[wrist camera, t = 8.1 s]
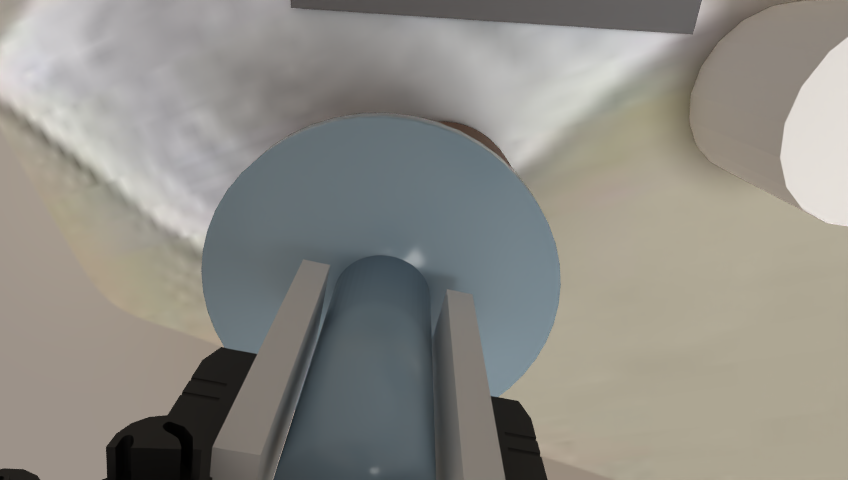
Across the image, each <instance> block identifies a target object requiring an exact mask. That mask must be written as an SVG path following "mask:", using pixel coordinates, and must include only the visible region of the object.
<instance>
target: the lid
mask: <svg viewBox="0 0 848 480" xmlns="http://www.w3.org/2000/svg"><path fill="white" fill-rule="evenodd" d="M303 259H304V260H309V261H314V262H318V263H323V264H328V265H330V269H329V275H328V280H327V286H326V291H325V297H324V303H323V308H322V314H321V319H320V325H319V330H318V336H317V341H316V345H315V348H314V351H313V354H312V358H311V361H310V364H309V367H308V370H307V373H306V376H305V379H304V382H303V385H302V389H301V392H300V395H299V398H298V401H297V404H296V407H295V413H294V416H293V419H292V423H291V426H290V429H289V432H288V435H287V438H286V441H285V444H284V448H283V451H282V454H281V457H280V460H279V463H278V466H277V470H276V473H275V476H274V479H273V480H436V459H435V427H434V394H433V361H432V338H433V334H434V331H435V328H436V324H437V321H438V318H439V314H440V311H441V307H442V304H443V301H444V297H445V294H446V291H447V289H449V290H454V291H459V292H463V293H468V294H472V295H473V300H474V306H475V312H476V317H477V323H478V328H479V334H480V340H481V345H482V351H483V356H484V362H485V368H486V373H487V379H488V385H489V390H490V396H494V397H498V396H500V395H501V394H502V393H504V392H505V391H506V390H508V389H509V388H510V387H511V386H512V385H513V384H514V383H515V382H516V381H517V380H518V379H519V378H520V377H521V376H522V375H523V374H524V373H525V372H526V371H527V369H528V368H529V367H530V366H531V364H532V363H533V362H534V361H535V359H536V358H537V356H538V354H539V353H540V351H541V349H542V348H543V346H544V344H545V343H546V340H547V338H548V336H549V333H550V331H551V329H552V326H553V324H554V320H555V316H556V312H557V308H558V304H559V295H560V285H561V284H560V264H559V259H558V254H557V249H556V243H555V241H554V238H553V235H552V232H551V230H550V227H549V224H548V222H547V220H546V218H545V216H544V214H543V213H542V211H541V209H540V207H539V205H538V203H537V202H536V200H535V198H534V197H533V195H532V194H531V192H530V190H529V189H528V188H527V186H526V185H525V184H524V182H523V181H522V180H521V178H520V177H519V176H518V174H517V173H516V172H515V171H514V170H513V169H512V168H511V167H510V166H509V165H508V164H507V163H506V162H505V161H504V160H503V159H502V158H501V157H500V156H498V155H497V154H496V153H494V152H493V151H492V150H490V149H489V148H488V147H486V146H485V145H484V144H482V143H481V142H479V141H477V140H476V139H474V138H472V137H470V136H468V135H467V134H465V133H463V132H461V131H459V130H457V129H454V128H452V127H449V126H447V125H444V124H442V123H439V122H436V121H432V120H428V119H424V118H420V117H416V116H412V115H404V114H395V113H359V114H353V115H346V116H340V117H335V118H332V119H328V120H325V121H322V122H318V123H315V124H312V125H310V126H308V127H306V128H303V129H301V130H299V131H297V132H295V133H293V134H290V135H289V136H287V137H286V138H284V139H283V140H281V141H280V142H278V143H277V144H275V145H273V146H272V147H270V148H269V149H268V150H267V151H266V152H265V153H264V154H263V155H261V156H260V157H259V158H258V159H257V160H256V161H255V162H253V163H252V164H251V165H250V166H249V167H248V168H247V169H246V170H244V171H243V172H242V173H241V175H240V176H239V177H238V178H237V179H236V181H235V182H234V183H233V184H232V185H231V187H230V188H229V189H228V190H227V192H226V193H225V195H224V197H223V198H222V200H221V202H220V203H219V205H218V207H217V208H216V210H215V213H214V215H213V218H212V220H211V223H210V225H209V228H208V231H207V235H206V239H205V244H204V248H203V257H202V283H203V293H204V297H205V301H206V306H207V310H208V313H209V316H210V318H211V321H212V323H213V326H214V328H215V331H216V333H217V335H218V336H219V338H220V340H221V342H222V343H223V345H224V347H225V348H228V349H234V350H239V351H244V352H250V353H255V354H258V352H259V350H260V348H261V346H262V343H263V341H264V339H265V337H266V335H267V333H268V331H269V329H270V327H271V325H272V323H273V321H274V319H275V317H276V315H277V313H278V310H279V308H280V306H281V304H282V302H283V300H284V298H285V296H286V294H287V292H288V290H289V288H290V286H291V284H292V282H293V280H294V277H295V275H296V273H297V271H298V269H299V267H300V265H301V263H302V261H303Z"/></svg>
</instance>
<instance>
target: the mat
mask: <svg viewBox="0 0 848 480" xmlns="http://www.w3.org/2000/svg"><path fill="white" fill-rule="evenodd" d="M701 1H702V0H291V8H302V9H317V10H332V11H348V12H363V13H378V14H393V15H408V16H424V17H439V18H454V19H469V20H484V21H500V22H515V23H530V24H545V25H560V26H576V27H591V28H606V29H621V30H636V31H651V32H667V33H682V34H693V31H694V28H695V24H696V20H697V16H698V13H699V9H700V5H701Z"/></svg>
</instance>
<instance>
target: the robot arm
mask: <svg viewBox="0 0 848 480" xmlns="http://www.w3.org/2000/svg"><path fill="white" fill-rule="evenodd" d="M329 269H330V265H328V264H323V263H318V262H314V261H309V260H304V259H303V261H302V263H301V265H300V267H299V269H298V271H297V273H296V275H295V277H294V280H293V282H292V284H291V286H290V288H289V290H288V292H287V294H286V296H285V298H284V300H283V302H282V304H281V306H280V308H279V310H278V313H277V315H276V317H275V319H274V321H273V323H272V325H271V327H270V329H269V331H268V333H267V335H266V337H265V339H264V341H263V343H262V346H261V348H260V350H259V352H258V354H255V353H250V352H244V351H239V350H234V349H228V348H223V347H221V348H219V349H218V350H216V351H215V352H214V353H212V354H211V355H209V356H208V357H206V358H205V359H204V360H202V362H201V363H200V365H199V367H198V368H197V370H196V371H195V373H194V374H193V376H192V378H191V381H189V382H188V384H187V385H186V387H185V389H184V390H183V392H182V395H180V396H179V398H178V400H177V401H176V403H175V404H174V406H173V407H172V409H171V411H170V412H169V414H168V415H167V416H155V417H148V418H145V419H142V420H140V421H137V422H134V423H131V424H130V425H129V426H127V427H125V428H124V429H123V430H121V431H120V432H118V433H117V434H116V435H115V436H114V438H113V439H112V440H111V441H110V443H109V444H108V445H107V447H106V454H107V455H106V456H107V478H106V479H103V480H272V479H273V475H274V472H275V469H276V466H277V463H278V460H279V457H280V454H281V450H282V447H283V444H284V441H285V438H286V435H287V431H288V429H289V426H290V423H291V420H292V416H293V413H294V410H295V407H296V404H297V401H298V398H299V395H300V392H301V389H302V385H303V382H304V379H305V376H306V373H307V370H308V367H309V364H310V361H311V358H312V354H313V351H314V348H315V345H316V341H317V336H318V330H319V325H320V319H321V314H322V308H323V303H324V297H325V291H326V286H327V280H328V275H329ZM432 361H433V394H434V427H435V459H436V480H547V476H546V473H545V469H544V465H543V462H542V458H541V457H540V450H539V447H538V443H537V441H536V435H535V432H534V428H533V424H532V420H531V418H530V417H529V415H528V414H527V412H526V411H525V410H524V408H523V407H522V405H521V404H520V403H519V401H515V400H510V399H504V398H499V397H494V396H490V390H489V385H488V379H487V373H486V368H485V362H484V356H483V351H482V345H481V340H480V334H479V328H478V323H477V317H476V312H475V306H474V300H473V295H472V294H468V293H463V292H459V291H454V290H449V289H447V291H446V294H445V297H444V301H443V304H442V307H441V311H440V314H439V318H438V321H437V324H436V328H435V331H434V334H433V338H432ZM0 480H40V479H39V478H38V476H37V475H35V474H32V473H30V472H28V471H26V470H23V469H0Z"/></svg>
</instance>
